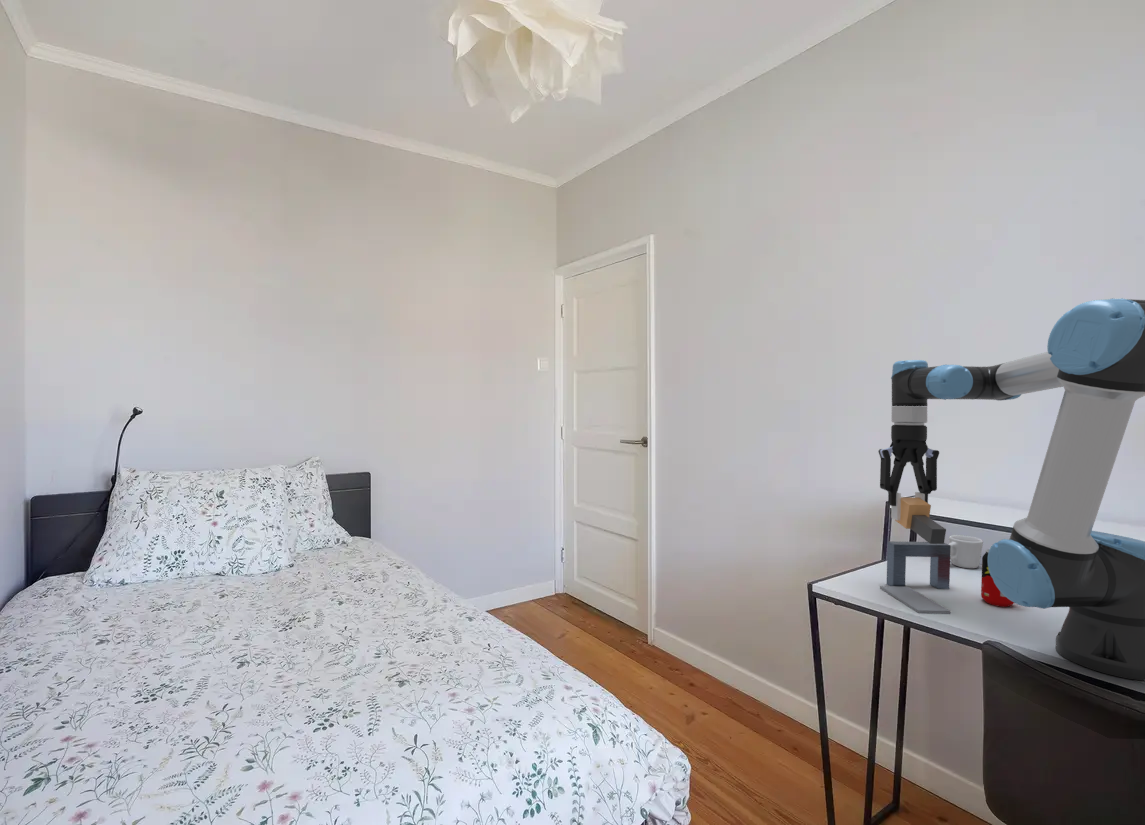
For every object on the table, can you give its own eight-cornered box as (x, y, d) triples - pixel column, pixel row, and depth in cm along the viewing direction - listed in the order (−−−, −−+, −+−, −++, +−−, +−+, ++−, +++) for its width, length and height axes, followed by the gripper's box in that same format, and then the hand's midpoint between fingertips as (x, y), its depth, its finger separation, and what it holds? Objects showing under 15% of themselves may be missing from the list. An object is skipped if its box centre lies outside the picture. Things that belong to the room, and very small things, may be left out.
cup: (958, 571, 155) (959, 543, 155) (933, 563, 163) (934, 536, 163) (989, 569, 158) (990, 541, 158) (963, 561, 166) (964, 534, 165)
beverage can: (1004, 599, 134) (1006, 549, 134) (1021, 609, 128) (1022, 556, 128) (975, 597, 135) (976, 547, 135) (990, 607, 129) (992, 555, 129)
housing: (949, 588, 141) (950, 545, 141) (893, 588, 141) (894, 544, 141) (941, 584, 144) (942, 542, 144) (886, 584, 144) (887, 541, 144)
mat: (950, 613, 125) (950, 610, 125) (918, 613, 125) (918, 610, 125) (908, 588, 141) (908, 586, 141) (880, 588, 141) (880, 586, 141)
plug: (948, 543, 126) (952, 518, 125) (925, 543, 126) (929, 518, 125) (915, 520, 139) (918, 497, 137) (894, 520, 139) (898, 497, 137)
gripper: (937, 424, 141) (935, 517, 141) (863, 423, 141) (862, 516, 142) (956, 424, 133) (955, 523, 134) (879, 424, 134) (878, 522, 134)
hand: (907, 519), depth 138 cm, fingers closed on plug, 5 cm apart
